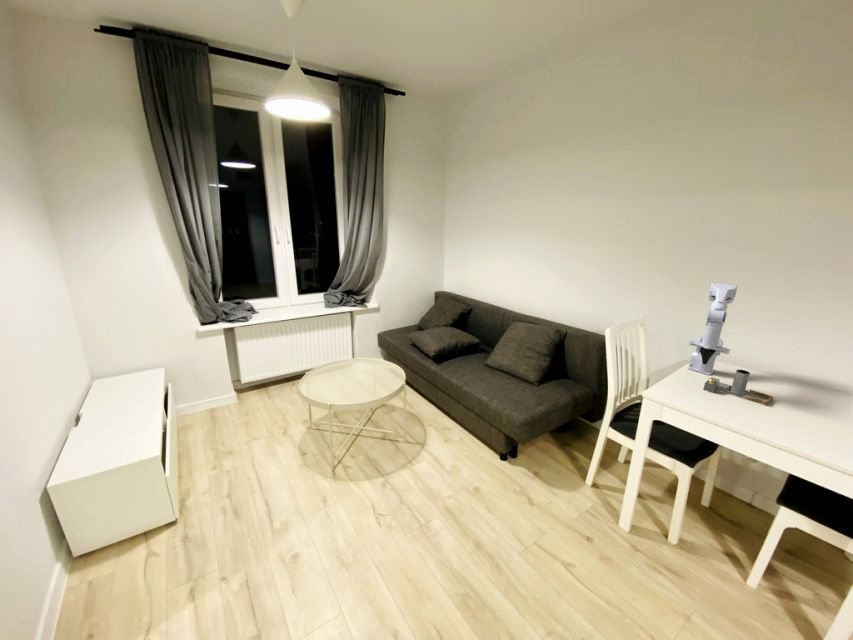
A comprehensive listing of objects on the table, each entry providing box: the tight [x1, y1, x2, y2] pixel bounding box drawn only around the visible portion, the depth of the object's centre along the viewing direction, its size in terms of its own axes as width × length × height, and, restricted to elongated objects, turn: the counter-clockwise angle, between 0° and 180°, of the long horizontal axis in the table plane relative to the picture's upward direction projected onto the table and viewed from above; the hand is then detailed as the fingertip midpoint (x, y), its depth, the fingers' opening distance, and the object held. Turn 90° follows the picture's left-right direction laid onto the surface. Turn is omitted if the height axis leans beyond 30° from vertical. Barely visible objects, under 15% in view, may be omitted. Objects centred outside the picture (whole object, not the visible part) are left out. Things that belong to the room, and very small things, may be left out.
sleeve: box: [716, 381, 750, 399], centre depth 159 cm, size 14×8×1 cm, turn 37°
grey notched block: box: [711, 377, 731, 391], centre depth 161 cm, size 7×4×3 cm, turn 37°
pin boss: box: [703, 380, 718, 394], centre depth 158 cm, size 4×5×4 cm
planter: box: [730, 369, 751, 396], centre depth 155 cm, size 4×4×10 cm
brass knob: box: [707, 377, 717, 385], centre depth 158 cm, size 3×3×5 cm
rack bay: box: [743, 389, 774, 407], centre depth 151 cm, size 7×8×2 cm
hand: (704, 363), depth 163 cm, fingers closed
